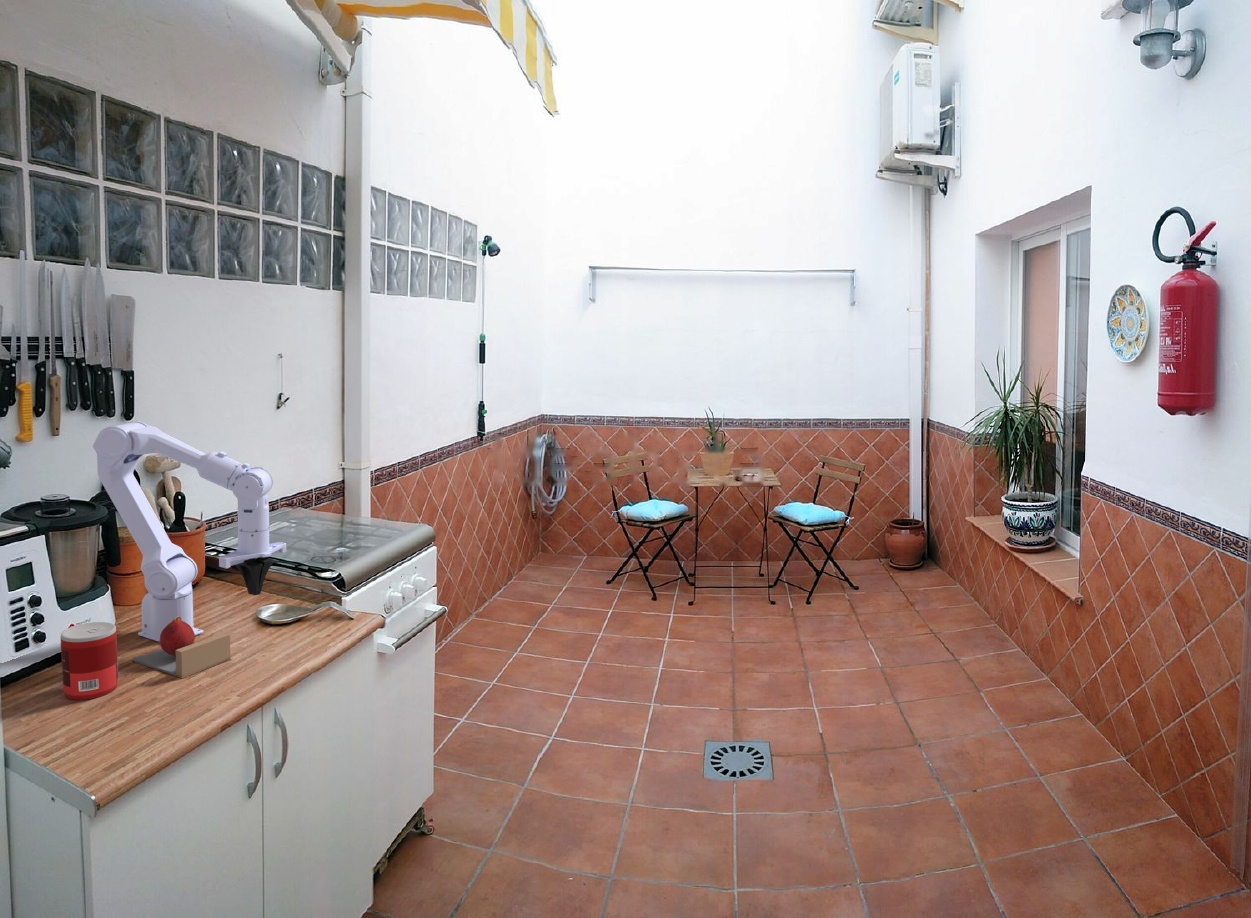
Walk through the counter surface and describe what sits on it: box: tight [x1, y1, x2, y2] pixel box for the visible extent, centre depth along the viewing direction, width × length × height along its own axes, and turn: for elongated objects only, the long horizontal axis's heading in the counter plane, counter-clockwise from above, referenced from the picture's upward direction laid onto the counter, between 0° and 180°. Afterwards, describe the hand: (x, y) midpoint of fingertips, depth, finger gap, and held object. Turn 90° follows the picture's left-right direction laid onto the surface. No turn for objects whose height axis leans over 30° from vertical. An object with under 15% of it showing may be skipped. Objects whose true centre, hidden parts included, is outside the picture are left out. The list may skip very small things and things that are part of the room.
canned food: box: [60, 621, 119, 701], centre depth 139 cm, size 8×8×11 cm
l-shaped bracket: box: [132, 632, 231, 679], centre depth 153 cm, size 14×10×5 cm
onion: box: [159, 616, 196, 657], centre depth 153 cm, size 6×6×8 cm
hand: (254, 593), depth 164 cm, fingers closed
